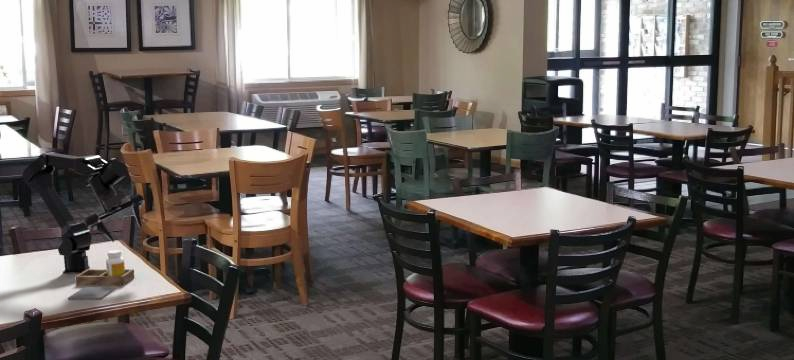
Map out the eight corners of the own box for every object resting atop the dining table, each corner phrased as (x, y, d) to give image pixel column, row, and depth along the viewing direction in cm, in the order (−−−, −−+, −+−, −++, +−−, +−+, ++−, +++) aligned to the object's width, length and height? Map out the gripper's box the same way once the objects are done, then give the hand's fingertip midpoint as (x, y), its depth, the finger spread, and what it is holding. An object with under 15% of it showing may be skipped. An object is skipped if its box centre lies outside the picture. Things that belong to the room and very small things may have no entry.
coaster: (68, 299, 253) (68, 297, 253) (83, 289, 263) (83, 287, 263) (101, 299, 252) (101, 297, 252) (115, 289, 262) (115, 287, 262)
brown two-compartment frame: (76, 285, 267) (75, 276, 267) (87, 277, 275) (87, 269, 275) (124, 285, 266) (123, 276, 265) (134, 277, 274) (133, 269, 273)
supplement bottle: (129, 279, 272) (126, 249, 270) (118, 284, 267) (116, 254, 265) (115, 278, 273) (112, 248, 272) (104, 283, 268) (101, 253, 267)
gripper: (74, 198, 261) (98, 243, 260) (132, 172, 268) (155, 216, 267) (76, 207, 271) (99, 250, 270) (132, 181, 278) (154, 223, 277)
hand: (127, 235), depth 271 cm, fingers open, 9 cm apart
